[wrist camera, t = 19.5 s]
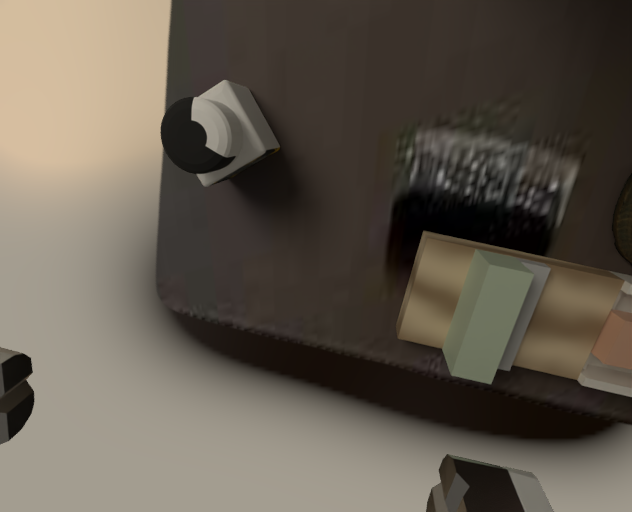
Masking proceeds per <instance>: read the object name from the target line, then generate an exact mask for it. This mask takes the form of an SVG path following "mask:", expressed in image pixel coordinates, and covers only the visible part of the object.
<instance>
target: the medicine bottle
mask: <svg viewBox="0 0 632 512" xmlns="http://www.w3.org/2000/svg"><path fill="white" fill-rule="evenodd" d="M161 139H162V144H163V147H164V150H165V152H166V154H167V155H168V157H169V158H170V159H171V160H172V162H173V163H174V164H176V165H177V166H178V167H179V168H181V169H183V170H185V171H187V172H190V173H194V174H197V176H198V178H199V179H200V181H201V183H202V184H203V185H204V186H206V187H208V186H211V185H213V184H216V183H219V182H221V181H224V180H227V179H230V178H231V177H233V176H235V175H237V174H238V173H240V172H242V171H244V170H245V169H247V168H249V167H250V166H252V165H254V164H256V163H257V162H259V161H261V160H262V159H264V158H266V157H268V156H269V155H271V154H273V153H275V152H276V151H278V150H279V149H280V145H279V143H278V141H277V140H276V138H275V136H274V134H273V132H272V130H271V129H270V127H269V125H268V123H267V121H266V119H265V118H264V116H263V114H262V112H261V110H260V108H259V107H258V105H257V103H256V101H255V99H254V97H253V96H252V94H251V92H250V90H249V89H248V88H247V87H244V86H241V85H238V84H236V83H233V82H230V81H227V80H224V81H222V82H220V83H219V84H217V85H216V86H214V87H213V88H211V89H210V90H208V91H207V92H205V93H204V94H202V95H201V96H199V97H188V98H183V99H181V100H179V101H177V102H175V103H174V104H173V105H171V106H170V108H169V109H168V110H167V111H166V113H165V115H164V117H163V120H162V124H161Z"/></svg>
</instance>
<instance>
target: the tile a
mask: <svg viewBox="0 0 632 512" xmlns="http://www.w3.org/2000/svg"><path fill="white" fill-rule="evenodd" d="M591 353H592V354H593V355H594V356H595V357H597V358H598V359H599V360H600V361H601V362H602V363H603V364H606V365H611V366H616V367H621V368H626V369H631V370H632V313H629V312H624V311H619V310H615V309H611V311H610V313H609V315H608V317H607V319H606V321H605V323H604V325H603V327H602V330H601V332H600V334H599V336H598V338H597V340H596V342H595V344H594V346H593V348H592V350H591Z"/></svg>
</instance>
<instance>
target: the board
mask: <svg viewBox="0 0 632 512" xmlns="http://www.w3.org/2000/svg"><path fill="white" fill-rule="evenodd" d="M475 249H479V250H483V251H488V252H493V253H498V254H502V255H507V256H512V257H516V258H521V259H526V260H530V261H535V262H540V263H545V264H546V265H547V266H549V267H550V268H551V270H550V272H549V275H548V277H547V280H546V282H545V285H544V287H543V290H542V292H541V294H540V297H539V299H538V302H537V304H536V307H535V309H534V312H533V314H532V317H531V319H530V322H529V324H528V327H527V329H526V332H525V334H524V336H523V339H522V341H521V344H520V346H519V349H518V351H517V354H516V356H515V359H514V361H513V364H512V365H515V366H519V367H523V368H528V369H532V370H536V371H541V372H545V373H549V374H554V375H558V376H562V377H567V378H571V379H575V380H578V378H579V375H580V373H581V371H582V369H583V367H584V365H585V363H586V361H587V359H588V357H589V355H590V352H591V350H592V348H593V346H594V344H595V342H596V340H597V338H598V336H599V334H600V332H601V330H602V327H603V325H604V323H605V321H606V319H607V317H608V315H609V313H610V311H611V309H612V307H613V305H614V302H615V300H616V298H617V296H618V294H619V292H620V290H621V288H622V286H623V284H624V282H625V280H623V279H621V278H620V277H618V276H616V275H614V274H613V273H611V272H609V271H607V270H603V269H598V268H593V267H589V266H584V265H580V264H575V263H570V262H566V261H561V260H556V259H552V258H547V257H543V256H538V255H533V254H529V253H524V252H519V251H515V250H510V249H506V248H501V247H496V246H492V245H487V244H482V243H478V242H473V241H469V240H464V239H459V238H455V237H450V236H446V235H441V234H436V233H432V232H427V231H423V234H422V238H421V241H420V245H419V248H418V252H417V255H416V258H415V262H414V265H413V269H412V272H411V276H410V279H409V283H408V286H407V289H406V293H405V296H404V300H403V303H402V307H401V310H400V314H399V317H398V320H397V324H396V330H397V337H398V339H403V340H407V341H411V342H416V343H420V344H424V345H428V346H433V347H437V348H441V349H442V348H443V345H444V342H445V339H446V336H447V333H448V330H449V327H450V324H451V321H452V318H453V315H454V312H455V309H456V306H457V303H458V300H459V297H460V294H461V291H462V288H463V285H464V282H465V279H466V276H467V273H468V270H469V267H470V264H471V261H472V258H473V255H474V252H475Z"/></svg>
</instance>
